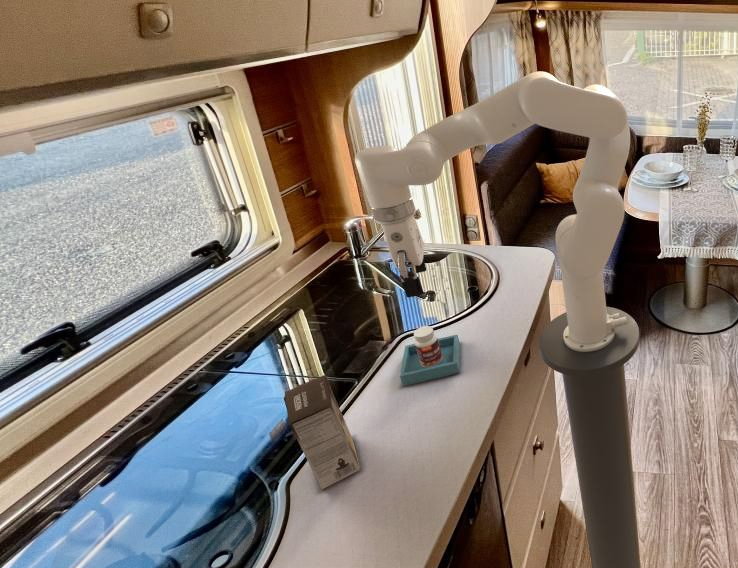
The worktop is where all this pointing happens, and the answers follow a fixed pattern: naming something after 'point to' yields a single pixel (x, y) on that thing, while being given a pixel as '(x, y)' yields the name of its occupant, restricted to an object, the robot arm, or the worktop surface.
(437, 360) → the pill bottle
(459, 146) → the robot arm
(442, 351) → the medicine tray
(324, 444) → the coffee box
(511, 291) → the worktop surface
